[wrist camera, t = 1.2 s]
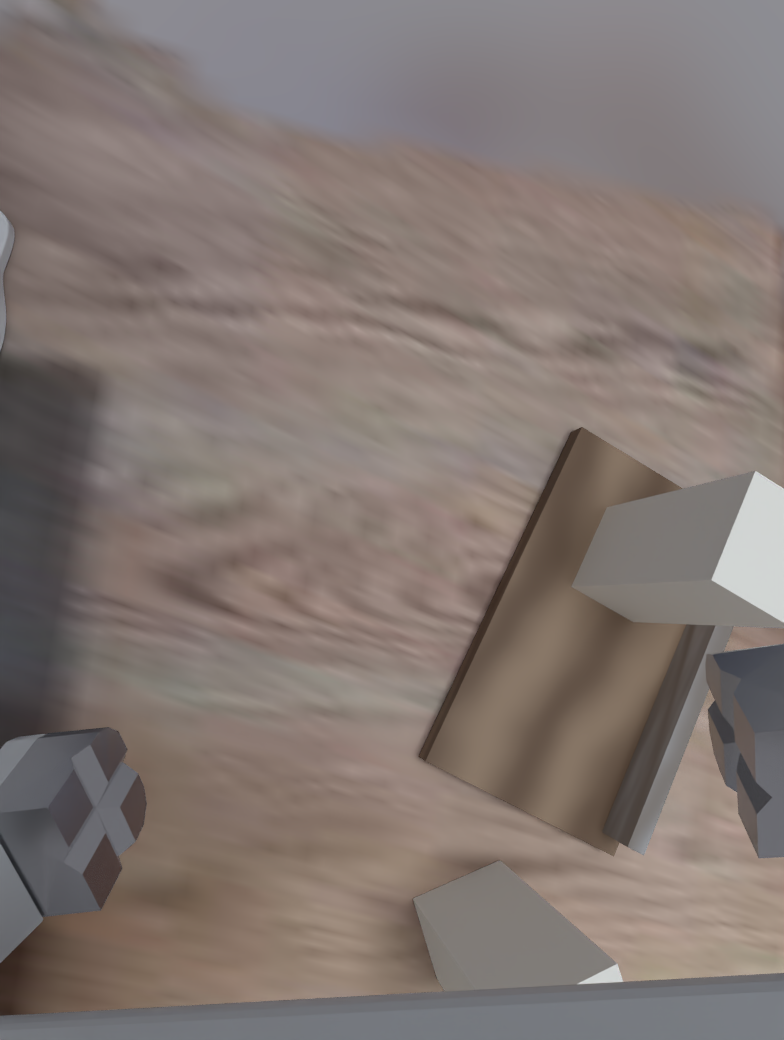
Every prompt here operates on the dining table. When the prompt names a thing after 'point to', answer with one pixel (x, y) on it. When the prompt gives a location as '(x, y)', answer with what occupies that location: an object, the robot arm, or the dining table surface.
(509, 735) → the shelf board
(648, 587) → the carton
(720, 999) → the robot arm
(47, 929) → the dining table surface
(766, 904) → the dining table surface
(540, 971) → the cream carton
